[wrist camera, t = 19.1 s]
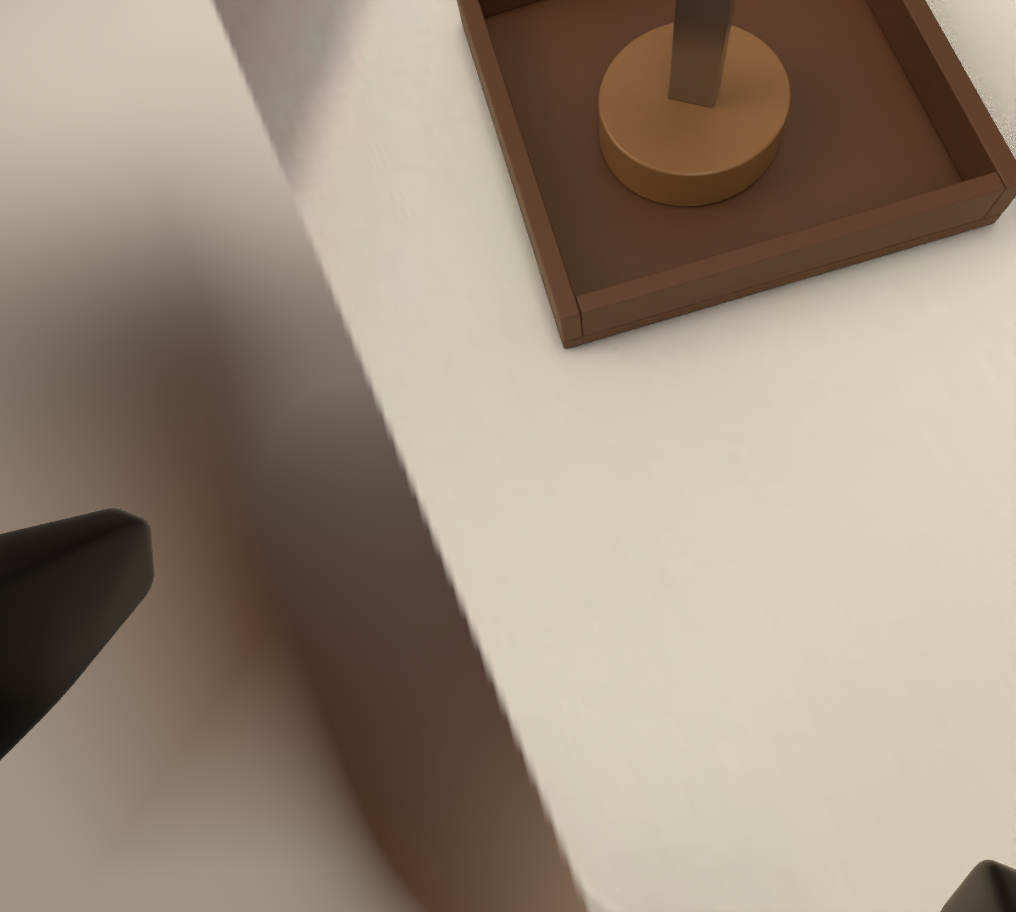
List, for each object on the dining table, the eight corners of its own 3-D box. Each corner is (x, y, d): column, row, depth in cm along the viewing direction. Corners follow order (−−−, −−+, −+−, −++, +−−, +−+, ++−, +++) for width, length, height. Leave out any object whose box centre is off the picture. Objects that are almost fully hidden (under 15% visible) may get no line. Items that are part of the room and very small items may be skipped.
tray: (564, 349, 24) (560, 319, 22) (462, 23, 28) (451, -25, 26) (995, 223, 24) (1029, 181, 22) (826, -90, 28) (842, -149, 26)
